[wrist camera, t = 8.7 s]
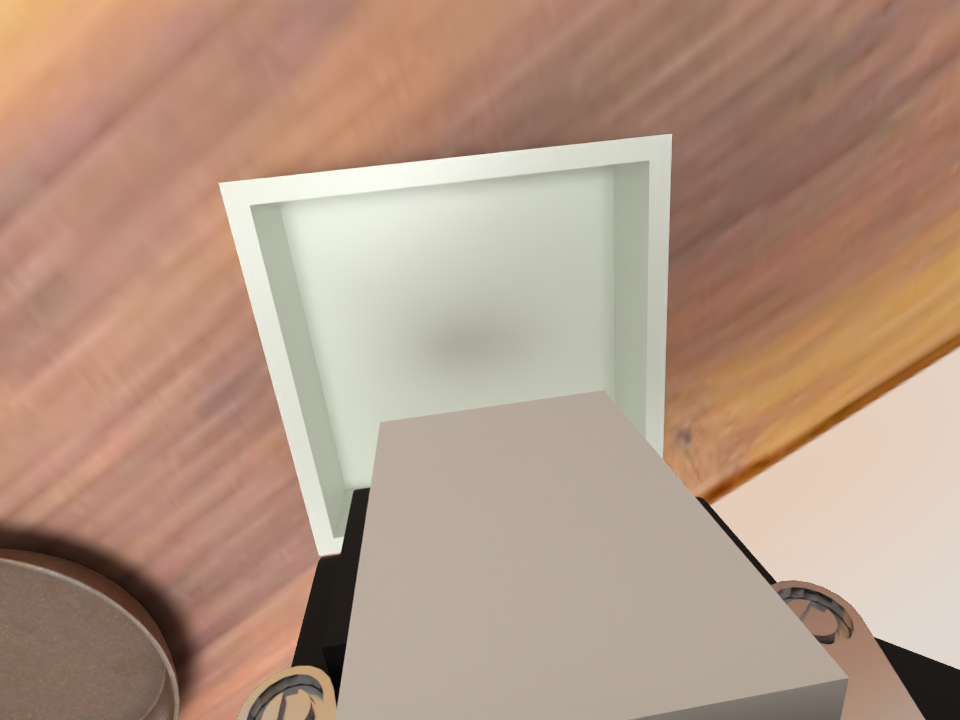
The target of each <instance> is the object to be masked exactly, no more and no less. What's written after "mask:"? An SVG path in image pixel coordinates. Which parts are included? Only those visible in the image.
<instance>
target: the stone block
mask: <svg viewBox="0 0 960 720" xmlns="http://www.w3.org/2000/svg"><path fill="white" fill-rule="evenodd" d="M848 681H849V677H848V676H847V675H846V673H845V672H844V671H843V670H842V669H841V668H840V666H839V665H838V664H837V663H836V662H835V661H834V659H833V658H832V657H831V656H830V655H829V653H828V652H827V651H826V650H825V649H824V648H823V646H822V645H821V644H820V643H819V642H818V641H817V639H816V638H815V637H814V636H813V635H812V634H811V632H810V631H809V630H808V629H807V628H806V627H805V625H804V624H803V623H802V622H801V621H800V619H799V618H798V617H797V616H796V615H795V614H794V612H793V611H792V610H791V609H790V608H789V607H788V605H787V604H786V603H785V602H784V601H783V600H782V598H781V597H780V596H779V595H778V594H777V593H776V591H775V590H774V589H773V588H772V587H771V585H770V584H769V583H768V582H767V581H766V580H765V578H764V577H763V576H762V575H761V574H760V573H759V571H758V570H757V569H756V568H755V567H754V566H753V564H752V563H751V562H750V561H749V560H748V559H747V557H746V556H745V555H744V554H743V553H742V551H741V550H740V549H739V548H738V547H737V546H736V544H735V543H734V542H733V541H732V540H731V539H730V537H729V536H728V535H727V534H726V533H725V532H724V530H723V529H722V528H721V527H720V526H719V525H718V523H717V522H716V521H715V520H714V519H713V517H712V516H711V515H710V514H709V513H708V512H707V510H706V509H705V508H704V507H703V506H702V505H701V503H700V502H699V501H698V500H697V499H696V498H695V496H694V495H693V494H692V493H691V492H690V491H689V489H688V488H687V487H686V486H685V485H684V483H683V482H682V481H681V480H680V479H679V478H678V476H677V475H676V474H675V473H674V472H673V471H672V469H671V468H670V467H669V466H668V465H667V464H666V462H665V461H664V460H663V459H662V458H661V457H660V455H659V454H658V453H657V452H656V451H655V449H654V448H653V447H652V446H651V445H650V444H649V442H648V441H647V440H646V439H645V438H644V437H643V435H642V434H641V433H640V432H639V431H638V430H637V428H636V427H635V426H634V425H633V424H632V423H631V421H630V420H629V419H628V418H627V417H626V415H625V414H624V413H623V412H622V411H621V410H620V408H619V407H618V406H617V405H616V404H615V403H614V401H613V400H612V399H611V398H610V397H609V396H608V394H607V393H606V392H605V391H604V390H602V391H595V392H588V393H581V394H574V395H567V396H560V397H553V398H546V399H539V400H532V401H525V402H518V403H511V404H504V405H497V406H490V407H483V408H476V409H469V410H462V411H455V412H448V413H441V414H434V415H427V416H420V417H413V418H406V419H399V420H392V421H385V422H380V427H379V434H378V440H377V447H376V454H375V460H374V467H373V473H372V480H371V487H370V493H369V500H368V506H367V513H366V520H365V526H364V533H363V539H362V546H361V553H360V559H359V566H358V572H357V579H356V586H355V592H354V599H353V605H352V612H351V619H350V625H349V632H348V638H347V645H346V652H345V658H344V665H343V671H342V678H341V685H340V691H339V698H338V704H337V711H336V718H335V720H840V719H841V714H842V709H843V705H844V700H845V695H846V691H847V686H848Z"/></svg>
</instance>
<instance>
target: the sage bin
mask: <svg viewBox="0 0 960 720" xmlns="http://www.w3.org/2000/svg"><path fill="white" fill-rule="evenodd" d="M671 151H672V134H664V135H655V136H646V137H637V138H628V139H619V140H609V141H600V142H591V143H582V144H573V145H563V146H554V147H545V148H536V149H527V150H518V151H508V152H499V153H490V154H481V155H472V156H462V157H453V158H444V159H435V160H426V161H417V162H407V163H398V164H389V165H380V166H371V167H361V168H352V169H343V170H334V171H325V172H316V173H306V174H297V175H288V176H279V177H270V178H260V179H251V180H242V181H233V182H224V183H219V186H220V190H221V194H222V197H223V201H224V205H225V209H226V212H227V216H228V220H229V223H230V227H231V231H232V235H233V238H234V242H235V246H236V249H237V253H238V257H239V261H240V264H241V268H242V272H243V275H244V279H245V283H246V287H247V290H248V294H249V298H250V301H251V305H252V309H253V313H254V316H255V320H256V324H257V327H258V331H259V335H260V339H261V342H262V346H263V350H264V353H265V357H266V361H267V365H268V368H269V372H270V376H271V379H272V383H273V387H274V391H275V394H276V398H277V402H278V405H279V409H280V413H281V417H282V420H283V424H284V428H285V431H286V435H287V439H288V443H289V446H290V450H291V454H292V457H293V461H294V465H295V469H296V472H297V476H298V480H299V483H300V487H301V491H302V495H303V498H304V502H305V506H306V510H307V513H308V517H309V521H310V524H311V528H312V532H313V536H314V539H315V543H316V547H317V550H318V554H319V556H321V555H327V554H334V553H340V552H341V549H342V544H343V539H344V535H345V530H346V525H347V520H348V515H349V510H350V505H351V500H352V495H353V491H354V490H356V489H362V488H369V487H371V480H372V473H373V467H374V460H375V454H376V447H377V440H378V434H379V427H380V422H385V421H392V420H399V419H406V418H413V417H420V416H427V415H434V414H441V413H448V412H455V411H462V410H469V409H476V408H483V407H490V406H497V405H504V404H511V403H518V402H525V401H532V400H539V399H546V398H553V397H560V396H567V395H574V394H581V393H588V392H595V391H602V390H604V391H605V392H606V393H607V394H608V396H609V397H610V398H611V399H612V400H613V401H614V403H615V404H616V405H617V406H618V407H619V408H620V410H621V411H622V412H623V413H624V414H625V415H626V417H627V418H628V419H629V420H630V421H631V423H632V424H633V425H634V426H635V427H636V428H637V430H638V431H639V432H640V433H641V434H642V435H643V437H644V438H645V439H646V440H647V441H648V442H649V444H650V445H651V446H652V447H653V448H654V449H655V451H656V452H657V453H658V454H659V455H660V457H661V458H662V459H663V437H664V401H665V365H666V330H667V294H668V258H669V222H670V187H671Z"/></svg>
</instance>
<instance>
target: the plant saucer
mask: <svg viewBox="0 0 960 720" xmlns="http://www.w3.org/2000/svg"><path fill="white" fill-rule="evenodd" d="M179 710H180V698H179V687H178V679H177V674H176V670H175V666H174V663H173V660H172V657H171V654H170V651H169V649H168V646H167V643H166V641H165V639H164V637H163V635H162V633H161V631H160V629H159V628H158V626H157V624H156V623H155V621H154V620H153V618H152V617H151V615H150V614H149V613H148V612H147V610H146V609H145V608H144V607H143V606H142V605H141V604H140V603H139V602H138V601H137V600H136V599H135V598H134V597H133V596H132V595H131V594H129V593H128V592H127V591H126V590H125V589H123V588H122V587H121V586H119V585H118V584H116V583H115V582H113V581H112V580H110V579H108V578H107V577H105V576H103V575H101V574H100V573H98V572H96V571H94V570H92V569H90V568H88V567H85V566H83V565H81V564H78V563H76V562H72V561H69V560H66V559H63V558H60V557H56V556H52V555H47V554H43V553H38V552H33V551H26V550H17V549H1V548H0V720H178V717H179Z"/></svg>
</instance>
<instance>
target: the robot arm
mask: <svg viewBox="0 0 960 720" xmlns="http://www.w3.org/2000/svg"><path fill="white" fill-rule="evenodd" d="M369 493H370V487H369V488H362V489H356V490H354V491H353V495H352V500H351V505H350V510H349V515H348V520H347V525H346V530H345V535H344V539H343V544H342V549H341V554H339V555H333V556H327V557H322V558H321V559H320V560H319V562H318V565H317V569H316V572H315V576H314V580H313V584H312V588H311V592H310V596H309V600H308V604H307V608H306V612H305V615H304V619H303V623H302V627H301V631H300V635H299V639H298V643H297V647H296V651H295V655H294V658H293V662H292V666H291V668H288V669H284V670H282V671H280V672H278V673H276V674H275V675H273V676H271V677H269V678H268V679H267V680H265V681H264V682H263V683H262V684H260V685H259V686H258V687H257V688H256V689H255V690H254V691H253V692H252V694H251V695H250V696H249V697H248V698H247V700H246V701H245V702H244V704H243V706H242V708H241V710H240V712H239V714H238V716H237V720H335V718H336V711H337V704H338V698H339V691H340V685H341V678H342V671H343V665H344V658H345V652H346V645H347V638H348V632H349V625H350V619H351V612H352V605H353V599H354V592H355V586H356V579H357V572H358V566H359V559H360V553H361V546H362V539H363V533H364V526H365V520H366V513H367V506H368V500H369ZM695 498H696V499H697V500H698V501H699V502H700V503H701V505H702V506H703V507H704V508H705V509H706V510H707V512H708V513H709V514H710V515H711V516H712V517H713V519H714V520H715V521H716V522H717V523H718V525H719V526H720V527H721V528H722V529H723V530H724V532H725V533H726V534H727V535H728V536H729V537H730V539H731V540H732V541H733V542H734V543H735V544H736V546H737V547H738V548H739V549H740V550H741V551H742V553H743V554H744V555H745V556H746V557H747V559H748V560H749V561H750V562H751V563H752V564H753V566H754V567H755V568H756V569H757V570H758V571H759V573H760V574H761V575H762V576H763V577H764V578H765V580H766V581H767V582H768V583H769V584H770V585H771V587H772V588H773V589H774V590H775V591H776V593H777V594H778V595H779V596H780V597H781V598H782V600H783V601H784V602H785V603H786V604H787V605H788V607H789V608H790V609H791V610H792V611H793V612H794V614H795V615H796V616H797V617H798V618H799V619H800V621H801V622H802V623H803V624H804V625H805V627H806V628H807V629H808V630H809V631H810V632H811V634H812V635H813V636H814V637H815V638H816V639H817V641H818V642H819V643H820V644H821V645H822V646H823V648H824V649H825V650H826V651H827V652H828V653H829V655H830V656H831V657H832V658H833V659H834V661H835V662H836V663H837V664H838V665H839V666H840V668H841V669H842V670H843V671H844V672H845V673H846V675H847V676H848V677H849V681H848V686H847V691H846V695H845V700H844V705H843V709H842V714H841V719H840V720H960V670H959V669H956V668H954V667H951V666H948V665H945V664H943V663H940V662H938V661H935V660H933V659H930V658H927V657H925V656H922V655H919V654H917V653H914V652H912V651H909V650H906V649H904V648H901V647H899V646H896V645H893V644H891V643H888V642H885V641H883V640H880V639H877V638H875V637H873V635H872V634H871V632H870V630H869V629H868V627H867V626H866V624H865V622H864V621H863V619H862V618H861V616H860V615H859V614H858V612H857V611H856V610H855V609H854V608H853V607H852V605H850V604H849V603H848V602H847V601H845V600H844V599H843V598H841V597H840V596H839V595H837V594H835V593H833V592H831V591H830V590H828V589H825V588H824V587H821V586H818V585H815V584H812V583H808V582H801V581H794V580H793V581H781V582H778V583H777V582H776V581H775V580H774V579H773V578H772V576H771V575H770V574H769V573H768V572H767V571H766V570H765V569H764V567H763V566H762V565H761V564H760V563H759V562H758V560H757V559H756V558H755V557H754V556H753V555H752V554H751V552H750V551H749V550H748V549H747V548H746V547H745V545H744V544H743V543H742V542H741V541H740V540H739V539H738V537H737V536H736V535H735V534H734V533H733V532H732V531H731V530H730V528H729V527H728V526H727V525H726V524H725V523H724V522H723V520H722V519H721V518H720V517H719V516H718V515H717V513H716V512H715V511H714V510H713V509H712V508H711V507H710V505H709V504H708V503H707V502H706V501H705V500H704V499H702V498H700V497H695Z"/></svg>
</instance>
